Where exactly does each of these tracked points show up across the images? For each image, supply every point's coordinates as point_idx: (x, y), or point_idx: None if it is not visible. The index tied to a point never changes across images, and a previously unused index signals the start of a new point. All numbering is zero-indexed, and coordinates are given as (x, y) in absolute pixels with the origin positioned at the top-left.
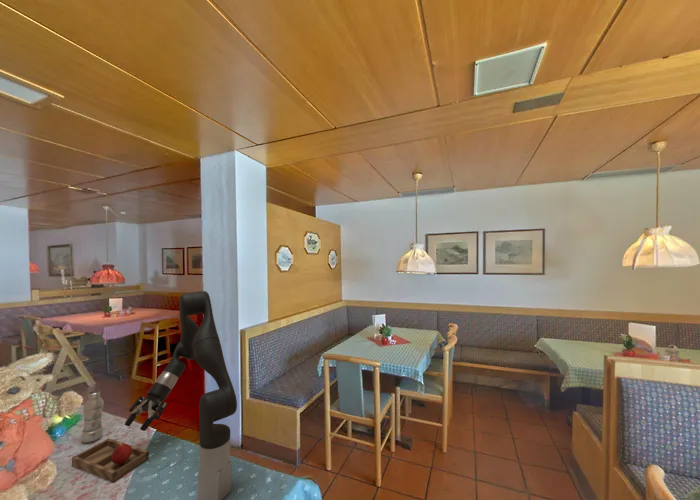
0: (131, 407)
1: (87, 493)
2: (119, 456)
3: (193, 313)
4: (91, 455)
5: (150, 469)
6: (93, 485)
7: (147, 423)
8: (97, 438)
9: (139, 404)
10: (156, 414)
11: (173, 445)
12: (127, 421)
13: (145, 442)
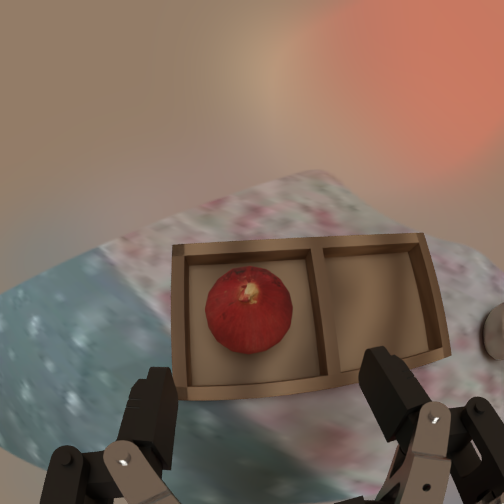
0: (495, 419)
1: (213, 203)
2: (218, 279)
3: None
4: (413, 293)
5: (118, 355)
6: (235, 226)
7: (124, 412)
8: (485, 342)
9: (474, 491)
10: (51, 474)
11: (176, 492)
12: (381, 362)
13: (325, 457)
